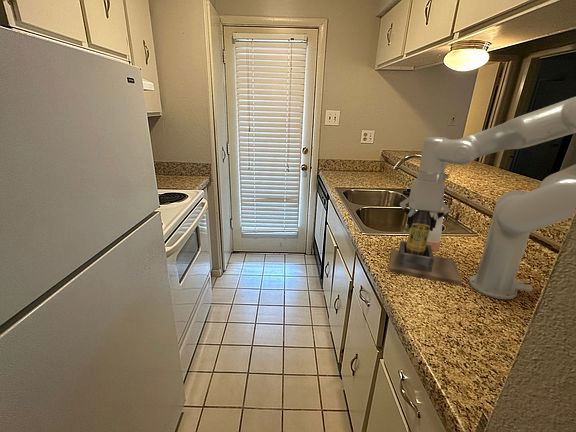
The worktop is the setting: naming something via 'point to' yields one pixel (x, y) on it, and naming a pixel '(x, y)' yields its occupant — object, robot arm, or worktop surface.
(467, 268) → the worktop surface
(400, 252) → the bottle caddy
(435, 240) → the pepper shaker
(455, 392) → the worktop surface
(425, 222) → the sauce bottle
